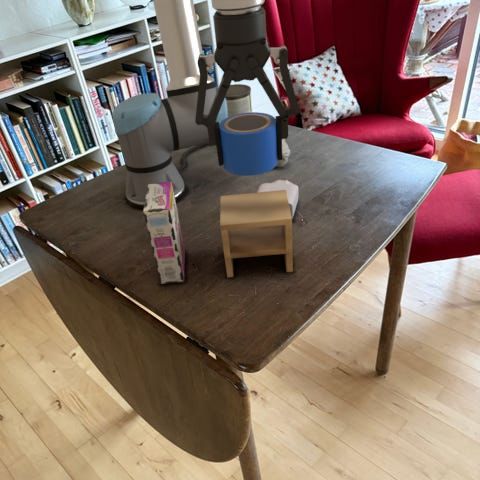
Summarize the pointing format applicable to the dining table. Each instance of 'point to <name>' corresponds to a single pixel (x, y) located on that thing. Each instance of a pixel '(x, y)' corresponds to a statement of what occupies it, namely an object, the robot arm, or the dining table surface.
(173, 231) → the candy bar box
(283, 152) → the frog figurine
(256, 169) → the tape roll
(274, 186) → the charger
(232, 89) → the coffee can
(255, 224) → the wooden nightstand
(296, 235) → the dining table surface
